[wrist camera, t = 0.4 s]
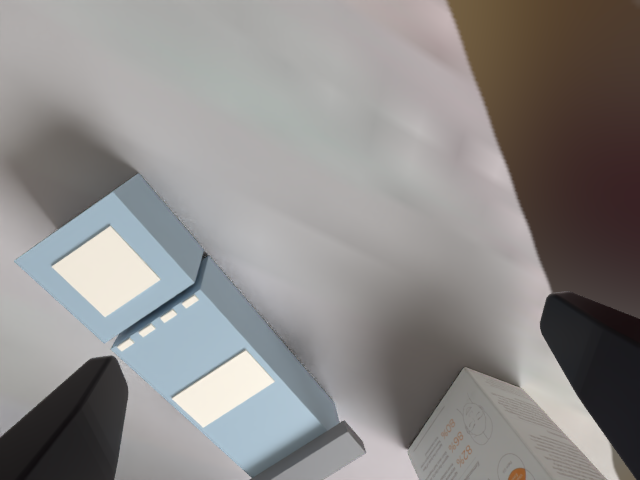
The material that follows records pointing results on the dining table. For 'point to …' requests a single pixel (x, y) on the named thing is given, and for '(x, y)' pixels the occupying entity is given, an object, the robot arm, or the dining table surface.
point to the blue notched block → (238, 382)
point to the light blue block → (116, 259)
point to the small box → (494, 437)
